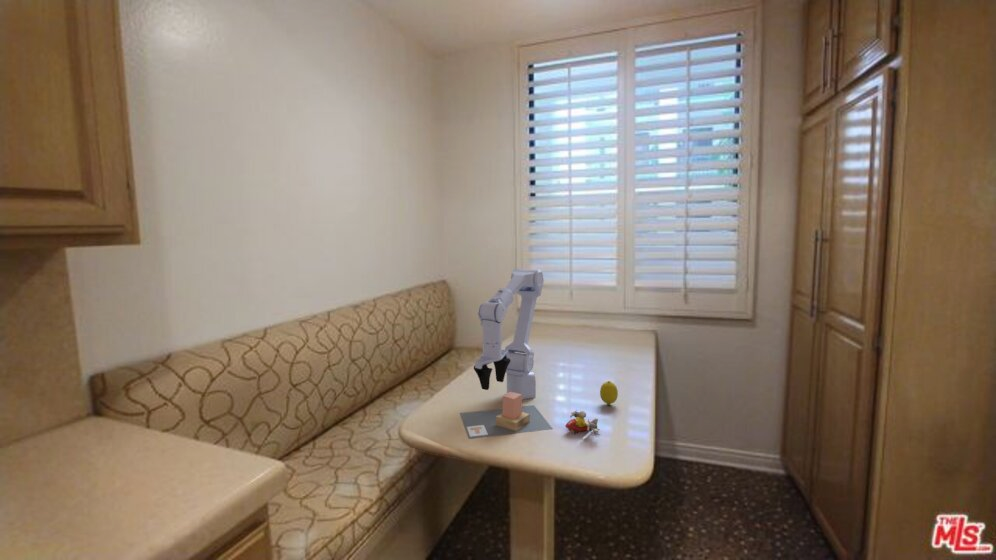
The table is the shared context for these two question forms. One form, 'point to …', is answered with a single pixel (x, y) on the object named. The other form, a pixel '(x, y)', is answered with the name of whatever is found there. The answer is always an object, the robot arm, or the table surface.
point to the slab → (513, 421)
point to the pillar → (512, 405)
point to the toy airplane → (581, 423)
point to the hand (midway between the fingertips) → (492, 385)
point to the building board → (485, 425)
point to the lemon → (608, 392)
